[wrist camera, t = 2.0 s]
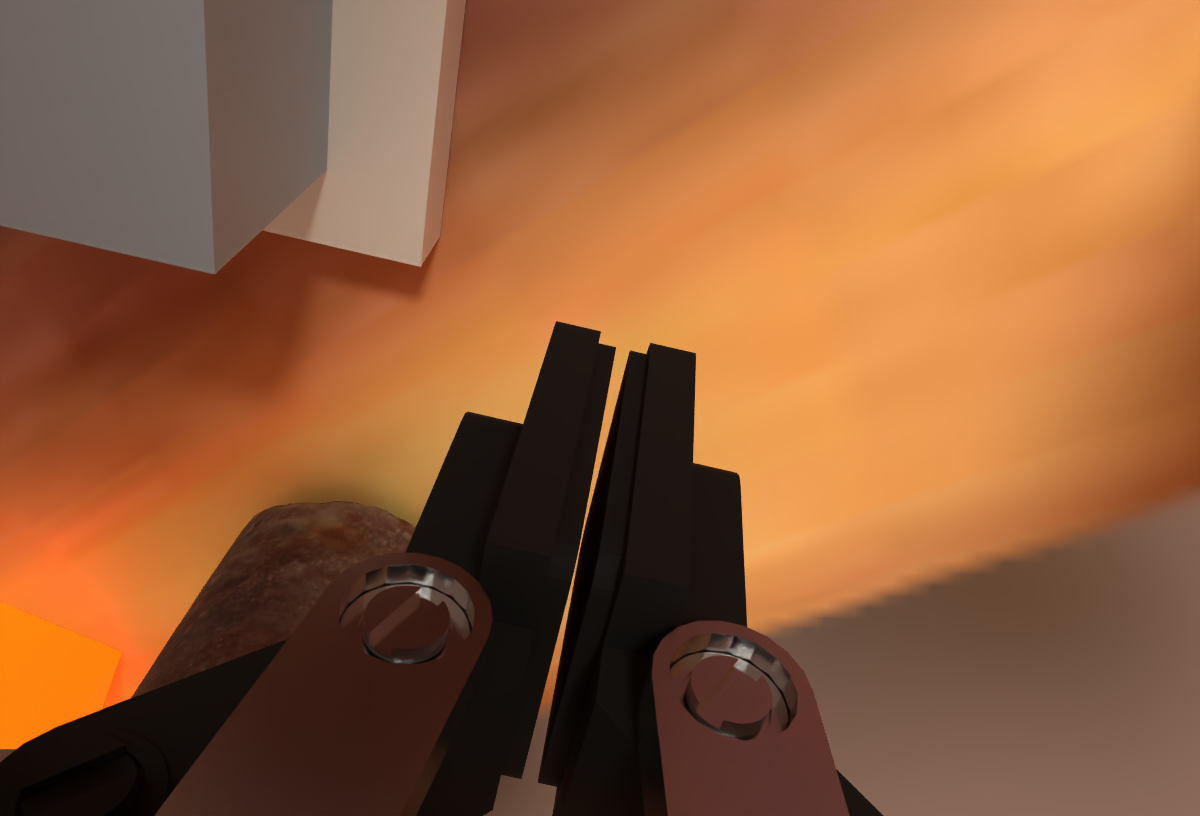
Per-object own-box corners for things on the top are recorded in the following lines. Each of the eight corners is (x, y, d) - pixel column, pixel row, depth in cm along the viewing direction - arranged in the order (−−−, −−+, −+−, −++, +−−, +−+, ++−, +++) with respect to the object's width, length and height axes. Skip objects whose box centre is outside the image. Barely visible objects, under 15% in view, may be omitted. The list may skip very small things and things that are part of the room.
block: (48, -176, 19) (-193, -171, 14) (336, -108, 19) (200, -77, 14) (82, 113, 22) (-103, 202, 17) (327, 170, 22) (215, 274, 17)
